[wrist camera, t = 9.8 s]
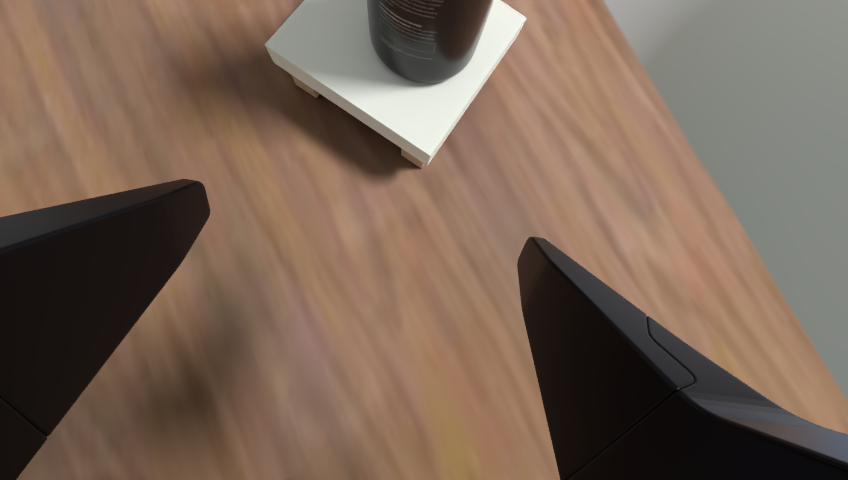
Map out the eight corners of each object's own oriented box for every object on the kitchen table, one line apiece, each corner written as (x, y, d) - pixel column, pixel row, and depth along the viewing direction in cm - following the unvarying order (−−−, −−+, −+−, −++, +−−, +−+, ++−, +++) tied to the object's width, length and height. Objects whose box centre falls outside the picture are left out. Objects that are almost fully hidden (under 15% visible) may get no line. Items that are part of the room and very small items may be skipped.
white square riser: (423, 177, 23) (430, 155, 19) (285, 85, 23) (264, 44, 19) (505, 59, 25) (526, 18, 21) (379, -26, 25) (378, -84, 21)
